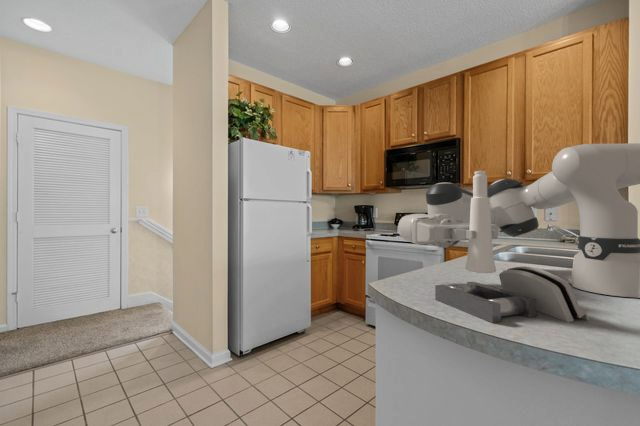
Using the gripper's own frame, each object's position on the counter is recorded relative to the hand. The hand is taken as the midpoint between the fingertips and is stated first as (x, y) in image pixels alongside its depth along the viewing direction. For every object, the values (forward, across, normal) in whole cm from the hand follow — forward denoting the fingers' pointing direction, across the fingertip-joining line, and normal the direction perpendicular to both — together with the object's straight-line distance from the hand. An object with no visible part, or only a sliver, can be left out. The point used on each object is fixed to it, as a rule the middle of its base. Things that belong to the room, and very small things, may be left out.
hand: (484, 234), depth 65 cm
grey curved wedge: (+4, -11, -17) cm, 20 cm away
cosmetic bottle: (-1, 0, -8) cm, 8 cm away
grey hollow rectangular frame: (-1, 0, -16) cm, 16 cm away
